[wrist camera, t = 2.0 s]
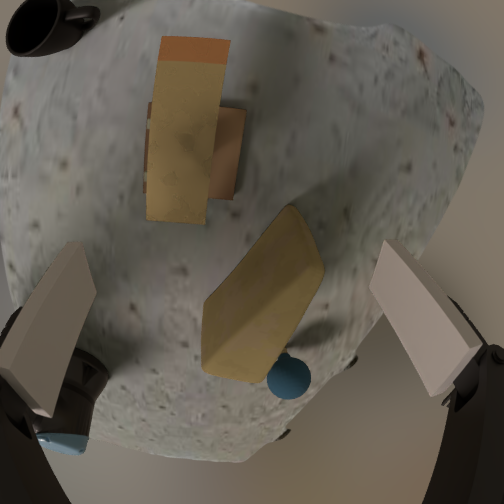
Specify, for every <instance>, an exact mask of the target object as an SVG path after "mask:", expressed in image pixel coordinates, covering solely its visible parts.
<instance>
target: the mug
mask: <svg viewBox="0 0 504 504" xmlns="http://www.w3.org/2000/svg"><path fill="white" fill-rule="evenodd" d="M99 17H100V10H99V9H98V8H97V7H94V6H84V7H78V8H76V6H75V5H74V4H73V3H72V2H71V1H70V0H26V1H25V2H23V3H22V4H21V5H20V7H19V8H18V9H17V10H16V12H15V13H14V15H13V16H12V18H11V20H10V22H9V25H8V28H7V32H6V45H7V48H8V50H9V51H10V52H11V53H12V54H13V55H15V56H19V57H40V56H46V55H50V54H53V53H57V52H59V51H62V50H65V49H68V48H70V47H72V46H73V45H74V44H76V43H77V42H78V40H79V39H80V38H81V36H82V34H83V32H84V31H88V30H91V29H92V28H93V27H94V26H95V24H96V23H97V21H98V20H99ZM83 18H92V20H90V21H86V22H84V19H83Z"/></svg>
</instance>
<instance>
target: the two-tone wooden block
mask: <svg viewBox="0 0 504 504" xmlns="http://www.w3.org/2000/svg"><path fill="white" fill-rule="evenodd" d="M230 41H231V40H223V39H213V38H200V37H179V36H162V39H161V44H160V50H159V56H158V62H157V69H156V76H155V83H154V91H153V100H152V109H151V120H150V132H149V146H148V164H147V195H146V220H151V221H165V222H178V223H191V224H203V225H205V220H206V209H207V200H208V191H209V182H210V173H211V165H212V157H213V149H214V141H215V134H216V127H217V120H218V113H219V106H220V100H221V93H222V87H223V81H224V75H225V69H226V63H227V58H228V52H229V47H230Z"/></svg>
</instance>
